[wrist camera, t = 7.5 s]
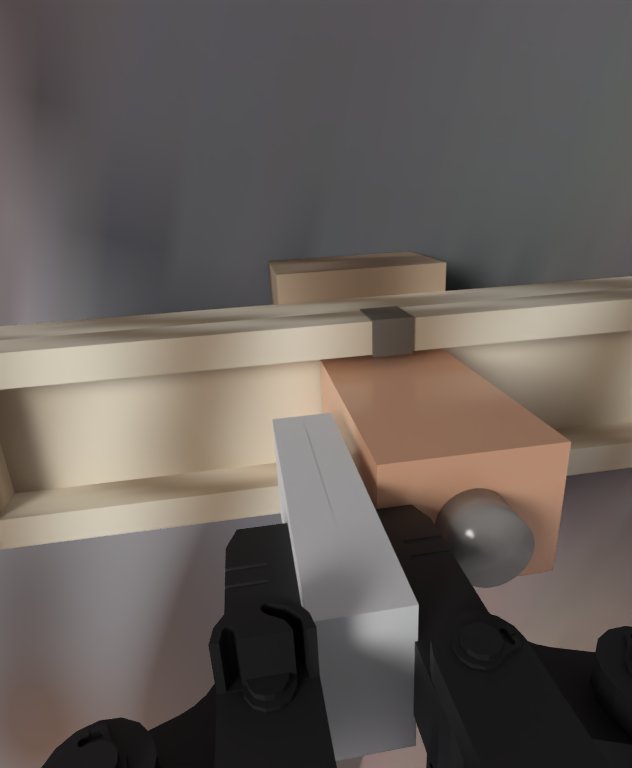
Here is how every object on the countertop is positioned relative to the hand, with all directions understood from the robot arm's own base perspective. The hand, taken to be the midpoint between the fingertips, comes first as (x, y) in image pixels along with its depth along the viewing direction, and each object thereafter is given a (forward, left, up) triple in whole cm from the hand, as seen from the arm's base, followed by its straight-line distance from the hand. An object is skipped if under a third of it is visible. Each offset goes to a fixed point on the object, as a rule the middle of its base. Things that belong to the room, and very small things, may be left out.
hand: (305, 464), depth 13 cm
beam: (0, +3, -10) cm, 10 cm away
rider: (0, +3, -4) cm, 5 cm away
